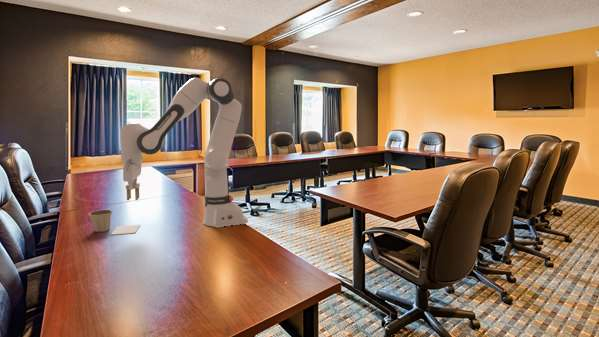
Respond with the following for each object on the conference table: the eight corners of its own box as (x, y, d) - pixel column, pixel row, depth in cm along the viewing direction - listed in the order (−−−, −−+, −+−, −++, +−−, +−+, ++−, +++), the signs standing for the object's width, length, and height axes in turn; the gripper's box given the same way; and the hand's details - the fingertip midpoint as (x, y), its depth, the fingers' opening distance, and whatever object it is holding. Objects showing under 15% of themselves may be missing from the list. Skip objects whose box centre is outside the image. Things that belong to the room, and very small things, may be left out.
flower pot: (103, 234, 150) (101, 215, 148) (85, 232, 151) (83, 214, 150) (118, 227, 159) (116, 210, 157) (101, 226, 160) (100, 209, 159)
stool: (140, 197, 156) (139, 183, 156) (137, 200, 152) (137, 185, 151) (128, 198, 155) (128, 183, 154) (126, 200, 150) (125, 185, 149)
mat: (140, 225, 162) (140, 224, 162) (135, 233, 151) (135, 232, 151) (117, 227, 159) (117, 226, 159) (110, 235, 148) (110, 234, 148)
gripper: (134, 161, 142) (135, 192, 144) (143, 156, 161) (144, 184, 163) (118, 161, 140) (119, 192, 142) (129, 156, 160) (130, 184, 161)
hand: (132, 188), depth 153 cm, fingers closed on stool, 5 cm apart
